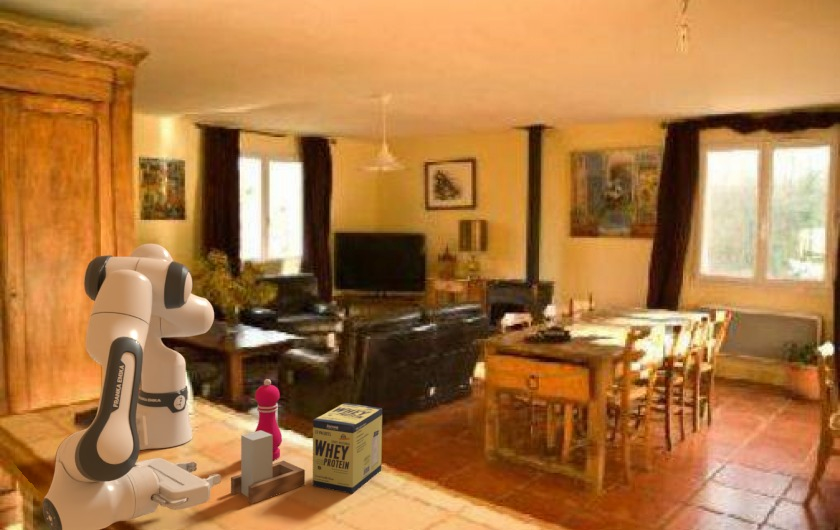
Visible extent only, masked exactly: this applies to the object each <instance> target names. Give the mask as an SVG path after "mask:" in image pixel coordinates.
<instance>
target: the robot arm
mask: <svg viewBox="0 0 840 530" xmlns="http://www.w3.org/2000/svg"><path fill="white" fill-rule="evenodd" d="M83 285H84V292H85V294H86V295H87V297H88V298H89V299H91V301H94V303H93V306H92V308H91V310H90V311H91V312H90V316H89V319H88V323H87V327H86V333H85V334H86V335H85V350H86V353H88V355H89V357H90V358H91V359H92V360H93V361H94V362H96V363H98V364H99V365H100V366H101V368H102V374H103V376H102V383H101V388H100V393H99V394H100V395H99V399H98V400H99V401H98V405H97V406H98V407H97V412H96V415H95V418H94V419H93V421H92V422H91V424H90V425H89V426H88V427H87V428H86V429H82V430H78V431H76V432H74V433H72V434H70V435H68V436H67V437H65V438H64V439H63V440H62V441H61V443H60V444H59V446H58V447H57V450H56V453H55V466H54V473H53V477H52V482H51V484H50V487H49V489H48V492H47V494H46V495H45V496H44V497H43V500H42V513H43V514H42V515H43V517H44V521H45V523H46V525H47V526H48V528H49V529H50V530H102V529H105V528H108V527H109V526H111V525H112V524H114V523H118V522H126V521H130V520H133V519H136V518H139V517H142V516H146V515H149V514H151V513H154V512H156V511H157V509H158V507H159V505H160V506H161V507H163V508H168V509H170V510H172V511H175V510H176V511H178V510H184V509H188V508H192V507H196V506H199V505H203V504H206V503H207V502H208V501H209V500H210V499H211V488H213V487H214V486H216V485H220V483H221V482H222V475H221V474H219V473H216V472H215V473H211V474H209V475H208V477H207V478H201V477H200V476H197V475H195V474H194V473H193V472H196V471H197V466H198V465H197V462H195V461H193V460H190V461H187V462H174V463H173V462H171V461H169V460H166V459H165V458H162V457H154V458H153V457H152V458H149V459H143V460H139V461H138V458H139V455H140V451H142V450H151V449H165V448H166V449H167V448H171V447H172V448H173V447H177V446H181V445H183V444H186V443H188V442H189V441H191V440H192V439H193V437H194V436H193V430H194V429H193V426H192V425H191V420H190V418H191V417H190V411H189V409H190V408H189V404H188V402H187V401H188V398H189V396H188V393H189V390H188V385H186V382H187V381H186V380H187V379H186V378H187V377H186V375H187V374H186V372H187V371H186V369H187V367H186V359H185V358H184V356H183V355H182V354H181V353H179V352H178V351H176V350H173V349H172V348H169V347H167V346H166V345H165V344H164V343H163V341H162V338H186V337H193V336H199V335H203V334H206V333H207V332H208V331H209V330H210V329H211V327H212V325H213V323H214V320H215V312H214V307H213V305H212V303H211V302H210V301H209V300H208V299H207V298H205V297H201V296H198V295H195V294H194V293H192V290H193V278H192V274H191V270H190V269H189V268H188V267H187V266H186V265H185V264H182V263H179V262H177V261H175V260H174V259H173V258H172V255H171V254H170V252H169V251H168V250H167V249H166V248H165V247H164V246H162V245H160V244H157V243H144V244H141V245H139V246H136V248H134V249H133V250H132V251H131V252H130V255H129V256H113V255H99V256H96V257H95V258H93V259H92V260H90V261H89V263H88V264H87V267H86V269H85V271H84V276H83ZM140 387H141V388H140Z"/></svg>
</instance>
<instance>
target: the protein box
mask: <svg viewBox="0 0 840 530" xmlns="http://www.w3.org/2000/svg"><path fill="white" fill-rule="evenodd" d="M382 426H383V408H382V407H376V406H368V405H361V404H354V403H347V402H343V403H342V404H339V405H337V407H335V408H333V409H331V410H329V411H327V412H326V413H324V414H322V415H320V416H318V417H316V418H314V419H313V420H312V486H313V487H316V488H320V489H321V488H323V489H327V490H333V491H338V492H341V493H347V494H354V493H355V492H356V491H358V490H359V489H360V488H361V487H362V486H364V485H365V484H366V483H367V482H368V481H370V480H372V478H373V477H375V476H376V475H377V474H378V473H380V472H381V471H382V443H383V442H382V437H383V435H382V434H383V427H382Z"/></svg>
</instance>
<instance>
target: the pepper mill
mask: <svg viewBox="0 0 840 530" xmlns="http://www.w3.org/2000/svg"><path fill="white" fill-rule="evenodd" d="M280 396H281V395H280V390H279V389H278V387H276V386H275V385H273V384H272V381H271V379H268V378H266V379H264V381H263V385H260V386H259V387H258V388H257V389H256V391H255V395H254V398H255V401H256V402H257V405H256V406H257V408H256V410H257V412H258V422H257V426H256V429H255V430H254V432H256V431H260V430H261V431H264V432H266V433H269V434H271V435H273V461H276V460H277V458H278V459H279V458H280V456H281V448H280V445H281V444H282V442H283V436H282V432H281V429H280V428H279V427H280V426H279V425H278V422H277V417H276V413H277V410H278V409H279V408H278V403H277V402H279V400H280ZM275 459H276V460H275Z"/></svg>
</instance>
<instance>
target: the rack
mask: <svg viewBox="0 0 840 530" xmlns="http://www.w3.org/2000/svg"><path fill="white" fill-rule="evenodd" d="M305 473H306V470H305V469H304V468H301V467H299V466H297V465H295V464H292V463H290V462H288V461H286V460H281V461H278V462H274V463H273V478H271V479H268V480H265V481H262V482H259V483H256V484H253V485H250V486H248V496H247V498H248V499H247V501H248V503H249V504H251V505H253V504H255V503H259V502H261V501H263V499H264V500H266V499H265V498H267V499H269V498H268V497H270V498H272V497H275V496H277V495H276V494H278V495H280V494H279V493H281V494H283V493H286V492H288V490H289V491H291V489H292V490H294V488H295V489H297V488H299V487H302V486H306V484H305V483H306V482H305V481H306V480H305V476H306V475H305ZM285 491H286V492H285ZM282 492H283V493H282ZM230 493H231V494H232V493H233V494H232V495H237V494H240V493H241V473H239V474H237V475H234V476H231V477H230ZM274 495H275V496H274ZM271 496H272V497H271Z"/></svg>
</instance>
